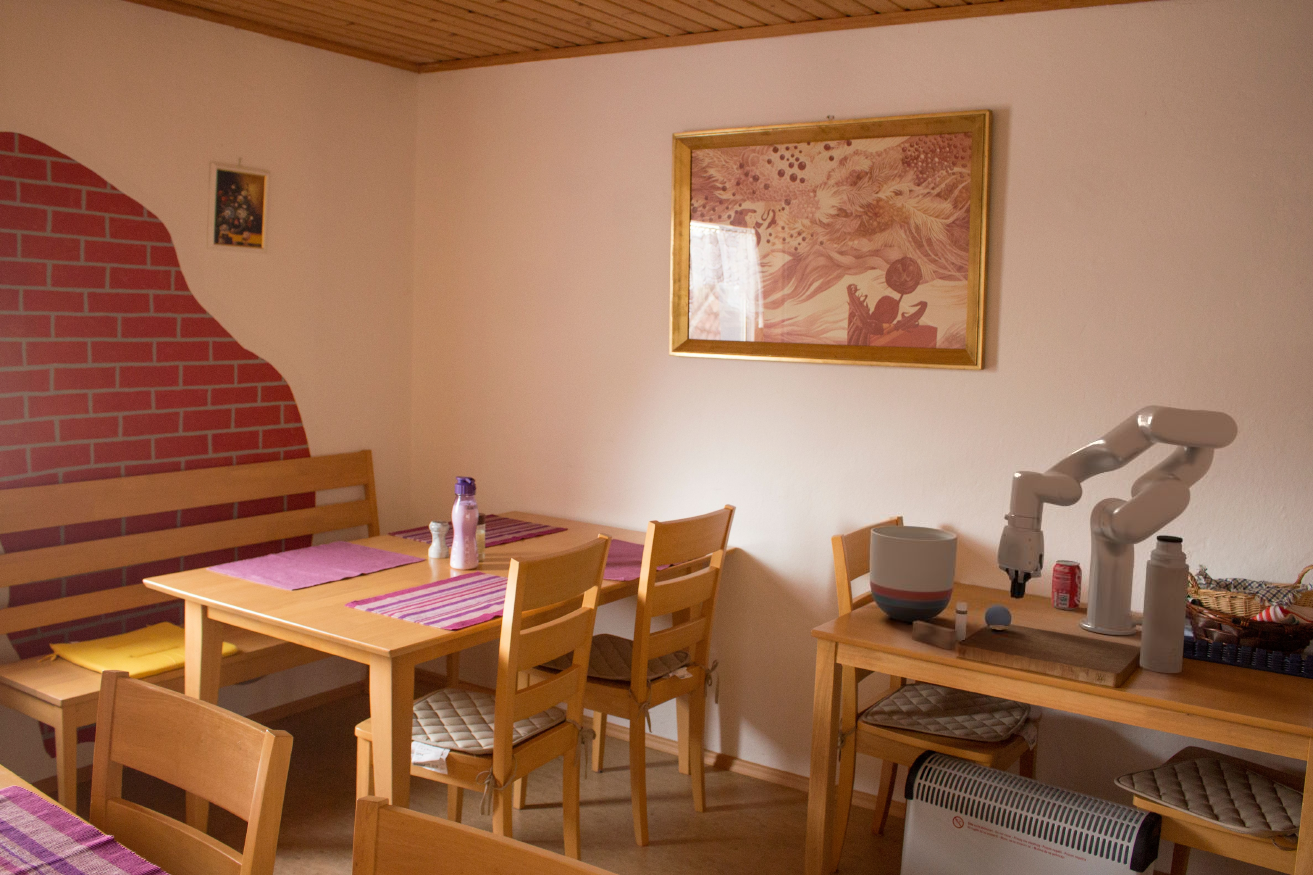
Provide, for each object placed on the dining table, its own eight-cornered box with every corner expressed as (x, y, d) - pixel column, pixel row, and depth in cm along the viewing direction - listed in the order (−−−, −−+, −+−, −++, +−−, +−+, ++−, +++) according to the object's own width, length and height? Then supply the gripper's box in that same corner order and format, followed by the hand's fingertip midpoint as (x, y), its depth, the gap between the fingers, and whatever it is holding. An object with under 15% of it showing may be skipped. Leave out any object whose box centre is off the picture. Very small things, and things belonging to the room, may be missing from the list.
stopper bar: (912, 638, 232) (913, 621, 231) (917, 637, 233) (918, 620, 233) (949, 649, 224) (950, 631, 224) (954, 648, 225) (955, 630, 225)
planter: (864, 606, 261) (868, 523, 259) (946, 611, 258) (951, 528, 256) (869, 627, 241) (873, 537, 239) (958, 633, 238) (963, 542, 236)
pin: (966, 638, 233) (968, 602, 232) (965, 641, 231) (967, 604, 230) (955, 637, 234) (957, 601, 233) (953, 640, 232) (955, 603, 231)
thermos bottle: (1147, 659, 221) (1157, 531, 219) (1187, 668, 215) (1196, 537, 213) (1133, 666, 215) (1142, 535, 213) (1173, 675, 210) (1183, 541, 208)
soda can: (1074, 605, 269) (1077, 560, 269) (1083, 611, 262) (1086, 565, 262) (1047, 603, 270) (1050, 558, 269) (1054, 610, 263) (1057, 564, 262)
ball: (1011, 628, 243) (1013, 604, 243) (1009, 634, 238) (1011, 609, 237) (985, 625, 246) (986, 601, 245) (982, 631, 240) (984, 606, 240)
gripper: (988, 518, 249) (981, 591, 251) (1044, 529, 237) (1036, 606, 239) (1006, 516, 254) (998, 589, 255) (1061, 527, 242) (1053, 603, 244)
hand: (1016, 597), depth 247 cm, fingers closed
